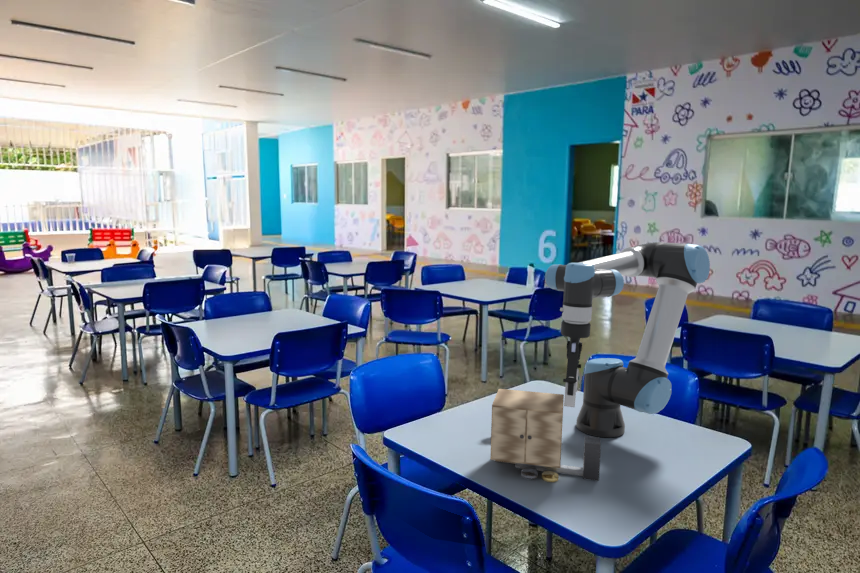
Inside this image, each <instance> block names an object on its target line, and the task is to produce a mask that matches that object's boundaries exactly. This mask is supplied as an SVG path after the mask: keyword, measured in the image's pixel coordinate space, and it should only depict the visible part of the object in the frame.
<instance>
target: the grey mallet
mask: <svg viewBox="0 0 860 573" xmlns="http://www.w3.org/2000/svg"><path fill="white" fill-rule="evenodd" d="M583 439H584V444H583V458H582V459H583V460H582V461H583V462H582V467H581V466H574V465H573V466H572V465H565V464H561V465H560V468H555V467H547V466H539V465H530V464H522V463H516V464H515V469H521V470H523V469H533V470H535V471H537V472H538V471H539V472H545V471H552V472H555V473H557V474H563V475H570V476H571V475H572V476H580V477H582V479H583V480H589V481H596V482H598V481H600V467H601V465H600V464H601V454H602V453H601V451H602V450H601V449H602V444H601V437H598V436H593V435H584V438H583Z"/></svg>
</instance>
